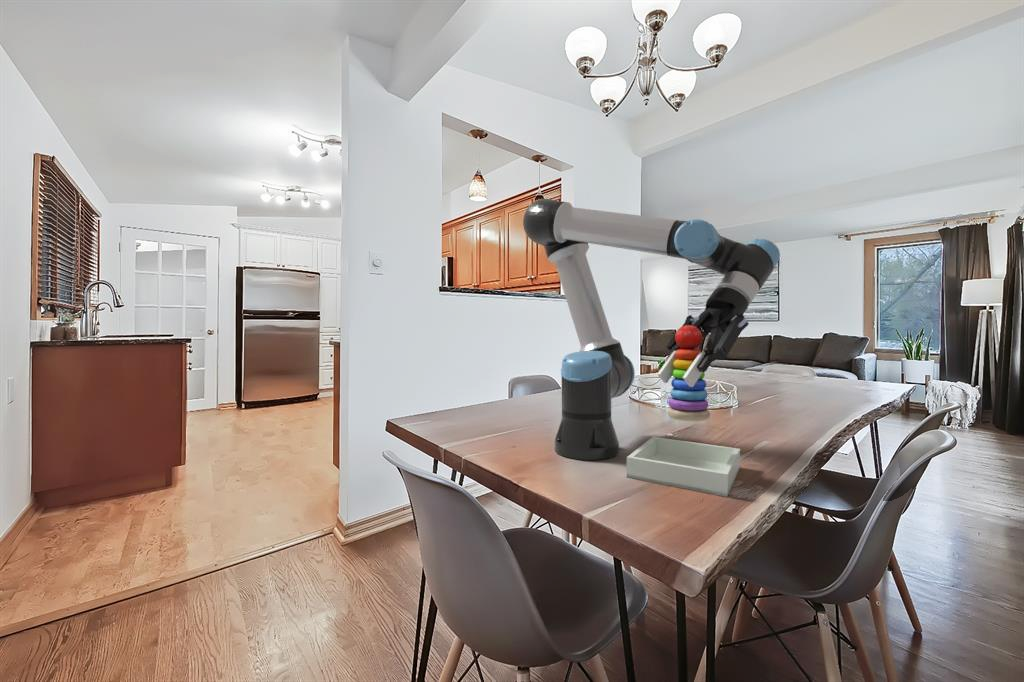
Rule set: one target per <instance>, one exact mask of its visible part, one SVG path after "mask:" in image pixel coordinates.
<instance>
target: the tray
mask: <svg viewBox="0 0 1024 682" xmlns="http://www.w3.org/2000/svg"><path fill="white" fill-rule="evenodd" d="M740 468H741V448H738V447H737V448H736V447H729V446H723V445H715V444H707V443H700V442H694V441H693V442H692V441H687V440H678V439H671V438H664V437H656V436H652V437H651V438H649V439H648V440H647V441H646V442H644V443H643V444H642V445H640V446H639V447H637V449H635V450H634V451H632V453H630V454H629V455H627V456H626V478H629V479H635V480H640V481H644V482H645V481H646V482H650V483H655V484H659V485H660V484H661V485H665V486H670V487H676V488H679V489H685V490H690V491H694V492H695V491H696V492H700V493H706V494H710V495H716V496H720V497H726V498H728V497H729V494H730V492H731V490H732V487H733V485H734V482H735V480H736V477H737V476H738V473H739V471H740Z"/></svg>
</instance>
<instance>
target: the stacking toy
mask: <svg viewBox="0 0 1024 682" xmlns="http://www.w3.org/2000/svg"><path fill="white" fill-rule="evenodd" d="M674 336H675V341H676V343H677V345H678V346H679V347H680V348H683V349H678V350H677V351H676V352H675V356H676V357H677V358H678V359H677V360H675V361H674V363H673V366H674V367H675V368H676V369H675V370H673V373H672V374H673V375H672V377H673V379H671V384H670V385H671V387H672V388H671V390H670V392H669V393H670V394H669V395H670V398H669V399H668V401H667V403H668V406H669V408H668V409H667V415H668V417H670V418H671V419H674V420H678V421H683V422H703V421H706V420H708V419H709V418H710V416H711V412H710V411H709V409H708V408H709V401H708V400H707V398H708V396H709V395H708V391H707V390H706V388H707V381H706V380H705V379H704V378H705V372H703V373H702V374H701V376H700V377H699V379H698V380H697V382H696V383H695V385H694V386H693V387H689V385H688V384H687V383H686V381H685V380H684V379H683V378H682V377H683V376H684V375H685V373H686V372H687V370H688V369H689V367H690V366H691V364H692V363H693V361H694V360H695V358H696V357H697V356H698V354H699V353H700V352H701V353H703V352H702V351H701V350H702V349H701V350H700V349H698V347H699V346H700V345H701V344H702V341H703V337H702V333H701V331H700V330H699V329H698V328H697V327H695V326H692V325H685V326H683V325H682V326H680V327H679V328H678V329H677V330H676V331H675V334H674Z"/></svg>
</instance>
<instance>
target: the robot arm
mask: <svg viewBox="0 0 1024 682" xmlns="http://www.w3.org/2000/svg"><path fill="white" fill-rule="evenodd" d="M522 226H523V230H524V231H525V234H526V235H527V237H528V238H529V239H530V240H531V241H532V242H534V243H535V244H538V245H541V246H543V247H544V250H545V254H546V257H547V260H548V262H549V263H552V264H553V265H555V266H556V267H555V268H556V271H557V274H558V277H559V281H560V283H561V286H562V290H563V293H564V297H565V300H566V302H567V303H566V304H567V307H568V309H569V312H570V316H571V319H572V321H573V325H574V328H575V331H576V335H577V339H578V341H579V345H580V349H579V350H578V351H575V352H571V353H568V354H566V355H564V357H562V361H561V369H560V375H561V419H560V422H559V426H558V429H557V433H556V434H555V439H554V451H555V453H557V454H558V455H560V456H563V457H565V458H570V459H574V460H575V459H576V460H584V461H585V460H587V461H597V460H598V461H600V460H606V459H610V458H611V459H612V458H614V457H617V456H618V455H619V453H620V443H619V438H618V436H617V433H616V428H615V427H614V426H615V425H614V423H613V420H612V399H614V398H618V397H621V396H622V395H624V394H625V393H626V392H627V391H628V390H629V389H630V388H631V387H632V385H633V384H634V381H635V380H634V379H635V367H634V365H633V362H632V361H631V359H630V358H629V357H628V356H626V355H625V353H624V350H623V347H622V344H621V342H620V341H619V340H617V339H615V338H614V337H613V336H612V332H611V329H610V327H609V323H608V321H607V317H606V314H605V310H604V308H603V304H602V301H601V298H600V295H599V292H598V289H597V286H596V283H595V280H594V276H593V274H592V271H591V267H590V264H589V261H588V258H587V253H588V251H589V248H590V246H589V245H590V244H592V245H598V246H599V245H600V246H605V247H611V248H617V249H624V250H629V251H636V252H642V253H648V254H654V255H662V256H666V257H667V256H668V257H670V258H671V257H672V258H677V259H683V260H687V262H690V263H692V264H696V265H698V266H701V267H703V268H706V269H708V270H711V271H713V272H717V273H719V274H720V275H723V277H722V279H721V280H720V281H719V282H718V284H717V285H716V286H715V289H714V290H713V291H712V293H711V294H710V296H709V297H708V299H706V301H705V309H704V311H702V312H701V313H700V314H699V316H695V317H693V315H691V314H690V315H687V316H686V318H685V321H684V323H683V324H682V326H685V325H692V326H695V327H697V328H698V329H699V330H700V331H701V333H702V338H706V337H707V336H708V335H709V337H708V340H707V341H706V346H705V348H702V351H703V352H702V351H701V352H702V353H701V352H700V353H699V354H698V356H697V357H696V358H695V360H694V361H693V363H692V364H691V366H690V367H689V369H688V370H687V372H686V373H685V375H684V376H683V377H682V378H683V379H684V380H685V381H686V383H687V384H688V385H689V387H693V386H694V385H695V383H696V382H697V380H698V379H699V377H700V376H701V374H702V373H703V372H704V373H705V372H707V370H708V369H709V367H710V366H711V365H712V362H715V361H716V360H718V359H720V360H725V359H726V358H727V356H728V355H729V354H730V351H731V350H732V348H733V346H734V344H735V343H736V342H737V340H738V338H739V337H740V334H741V333H742V332H743V330H744V329H746V328H747V327H748V326H749V322H748V320H747V319H746V317H745V316H744V314H745V312H746V311H747V309H749V307H750V305H751V304H752V302H753V301H754V299H755V298H756V296H757V294H758V293H759V291H760V290H761V289H762V287H763V286H764V284H765V283H766V281H767V280H768V279H769V277H770V276H771V274H772V273H773V271H774V270H775V267H776V266H777V264H778V262H779V261H780V257H781V253H780V250H779V248H778V246H777V244H775V243H773V242H772V241H770V240H769V239H765V238H761V239H760V238H755V239H751V240H750V241H749V242H747V243H746V244H744V243H742V242H738V241H735V240H732V239H731V238H727V237H724V236H722V235H721V234H720V233H718V230H717V229H716V228H715V226H714V225H713V224H711V223H709V222H708V221H705V220H703V219H700V218H699V219H697V218H695V219H689V220H688V221H687V220H678V219H672V218H663V217H655V216H647V215H639V214H631V213H623V212H615V211H606V210H597V209H590V208H588V209H587V208H580V207H573V205H572V204H571V202H568V201H560V200H557V199H556V200H555V199H551V198H539V199H537V200H534V201H533V202H532V203H531V204H530V205H529V206H528V207H527V208H526V210H525V213H524V215H523V220H522ZM665 348H666V349H667V351H668V352H669V355H668V356H667V358H665V360H664V362H663V365H662V367H661V368H660V369H659V370H658V373H657V376H658V377H659V378H660V379H661V380H662V382H663V383H664V384H667V383H668V382H669V381H670V379H671V378H672V377H673V374H672V373H673V370H675V369H676V368H675V367H674V366H673V363H674V361H675V360H677V359H678V358H677V357H676V356H675V352H676V351H677V350H678V349H683V348H680V347H679V346H678V345H677V343H676V341H675V335H673V337H671V340H670V341H669V342H668V344H667V345H666V346H665ZM704 353H705V354H704Z"/></svg>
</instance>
